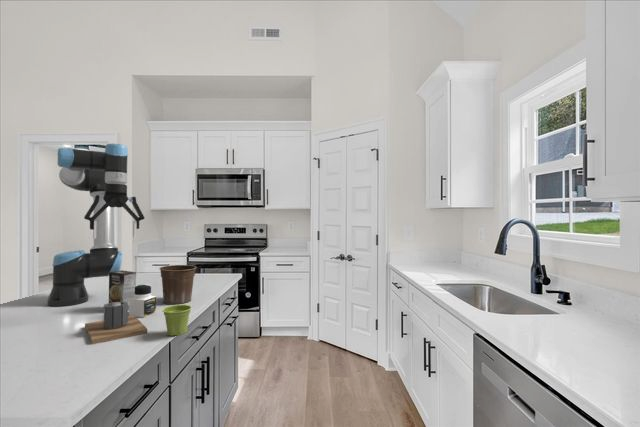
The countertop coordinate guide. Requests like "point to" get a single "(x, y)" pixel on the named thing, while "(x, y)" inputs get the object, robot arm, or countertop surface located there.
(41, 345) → the countertop surface
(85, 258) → the robot arm
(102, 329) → the board
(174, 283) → the plant pot
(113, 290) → the coffee box
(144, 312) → the medicine bottle
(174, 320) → the plant pot
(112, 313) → the knob
